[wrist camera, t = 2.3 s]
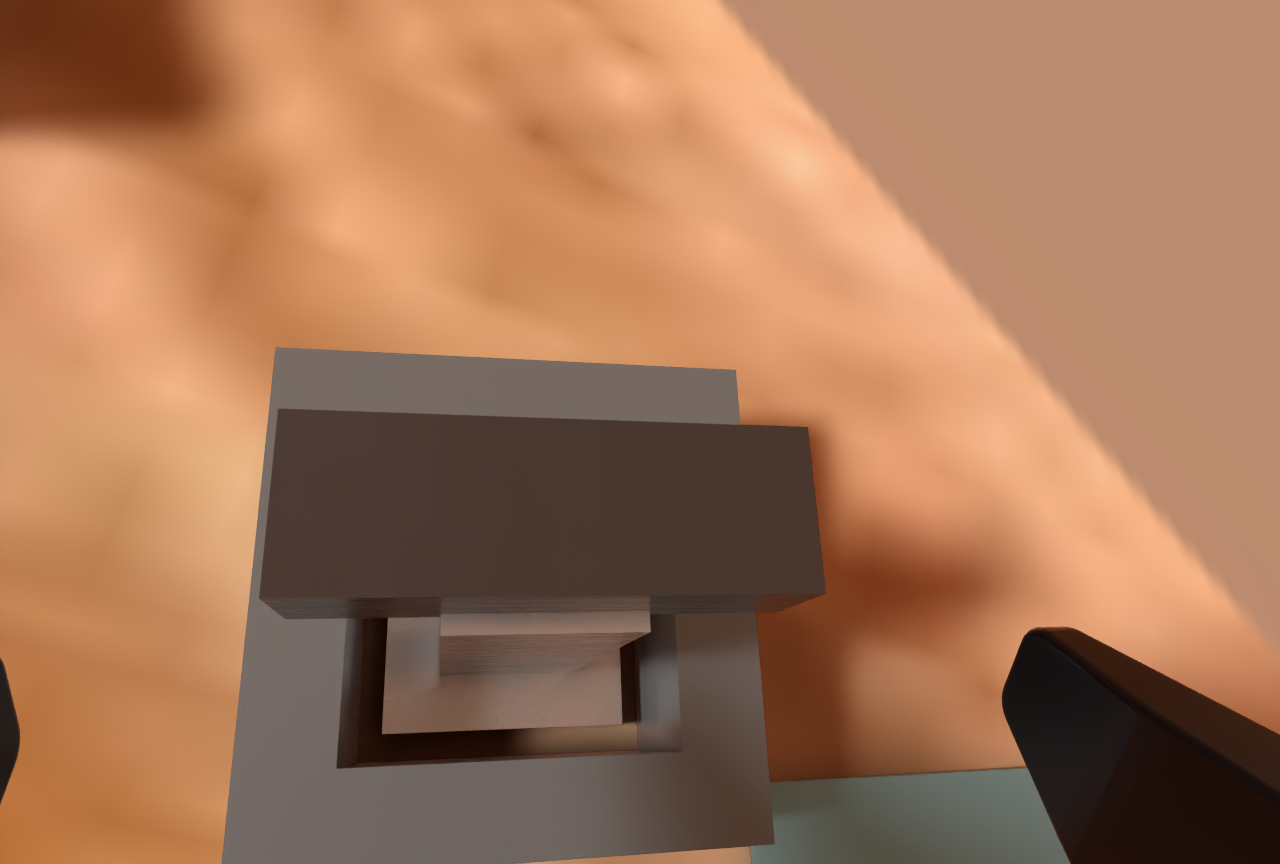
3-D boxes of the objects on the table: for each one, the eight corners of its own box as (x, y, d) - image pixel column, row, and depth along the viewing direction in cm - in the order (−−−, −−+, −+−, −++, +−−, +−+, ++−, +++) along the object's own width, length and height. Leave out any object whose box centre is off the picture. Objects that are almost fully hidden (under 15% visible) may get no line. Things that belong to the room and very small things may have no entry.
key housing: (713, 824, 18) (774, 844, 14) (264, 855, 16) (219, 885, 13) (688, 428, 20) (735, 370, 17) (303, 415, 19) (275, 347, 15)
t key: (648, 723, 18) (838, 710, 9) (344, 736, 17) (245, 732, 8) (639, 511, 19) (797, 333, 11) (359, 508, 18) (289, 302, 10)
